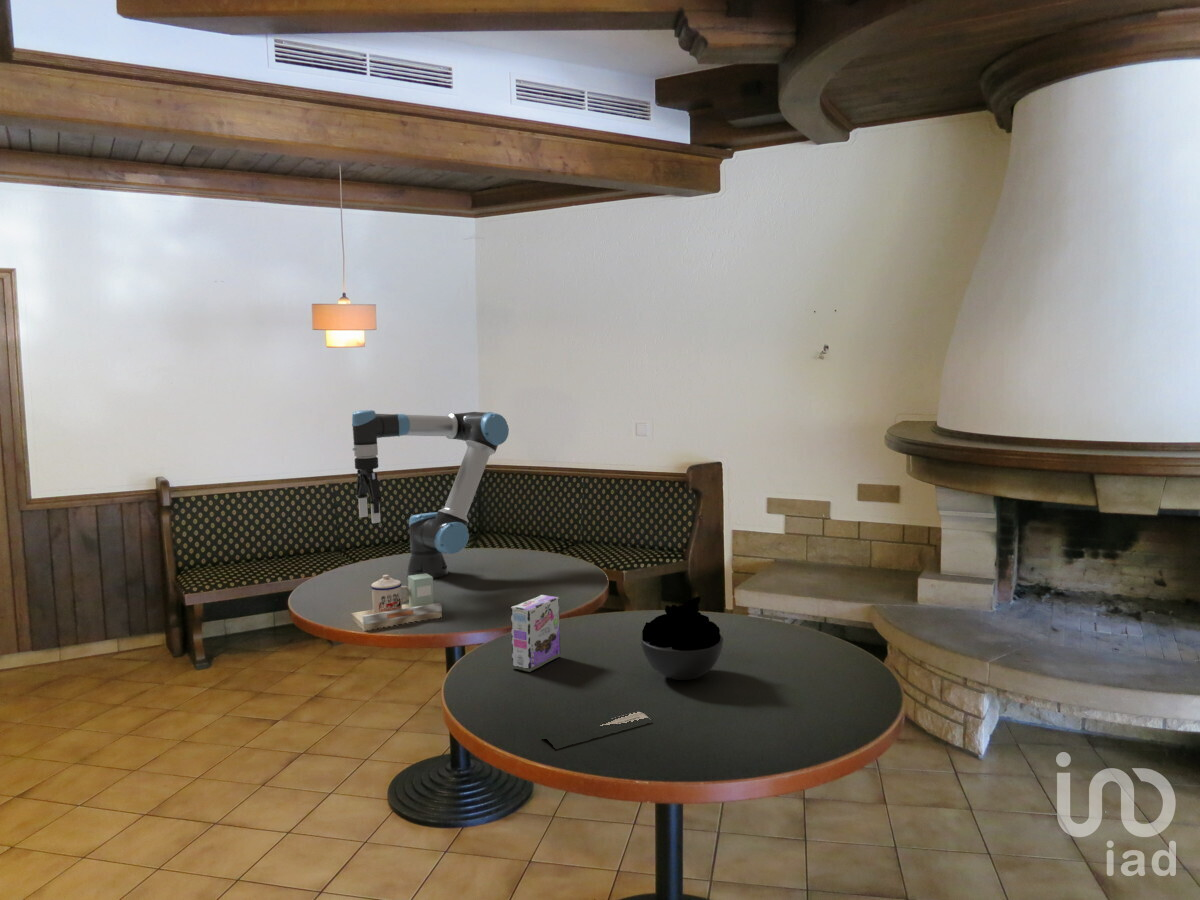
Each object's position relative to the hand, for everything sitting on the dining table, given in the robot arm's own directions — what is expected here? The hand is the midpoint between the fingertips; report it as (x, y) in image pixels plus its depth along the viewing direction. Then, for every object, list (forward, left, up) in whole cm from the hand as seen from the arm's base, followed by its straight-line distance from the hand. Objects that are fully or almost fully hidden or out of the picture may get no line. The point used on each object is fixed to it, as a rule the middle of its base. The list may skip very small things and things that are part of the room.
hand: (369, 519), depth 283 cm
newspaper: (-9, +132, -27) cm, 135 cm away
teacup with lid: (+2, +28, -25) cm, 37 cm away
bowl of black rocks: (-42, +118, -27) cm, 128 cm away
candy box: (-17, +89, -27) cm, 95 cm away
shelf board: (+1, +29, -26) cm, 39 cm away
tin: (-7, +29, -24) cm, 39 cm away
